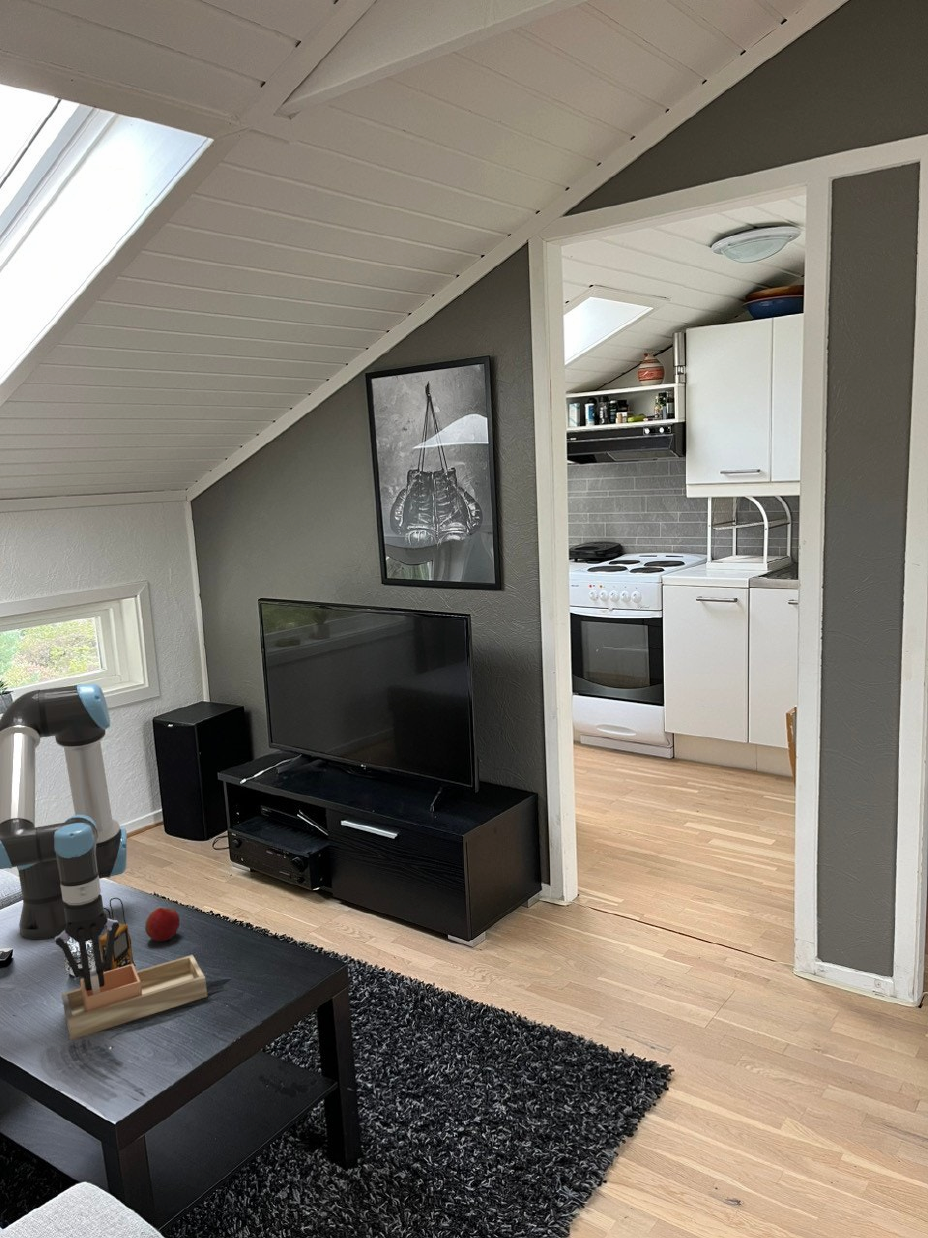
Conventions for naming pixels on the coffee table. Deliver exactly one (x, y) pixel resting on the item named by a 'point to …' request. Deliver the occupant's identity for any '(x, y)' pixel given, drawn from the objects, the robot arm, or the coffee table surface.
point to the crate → (113, 988)
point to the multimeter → (118, 945)
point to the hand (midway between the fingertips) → (97, 1001)
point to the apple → (162, 924)
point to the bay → (139, 997)
